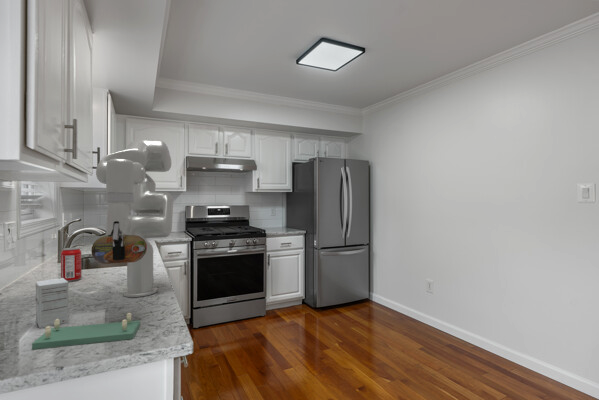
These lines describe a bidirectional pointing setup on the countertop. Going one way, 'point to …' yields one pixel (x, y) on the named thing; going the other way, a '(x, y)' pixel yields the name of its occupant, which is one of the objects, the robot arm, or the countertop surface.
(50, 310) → the supplement box
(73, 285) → the countertop surface
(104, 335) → the green peg board
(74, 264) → the soda can
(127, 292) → the robot arm
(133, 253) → the tin
